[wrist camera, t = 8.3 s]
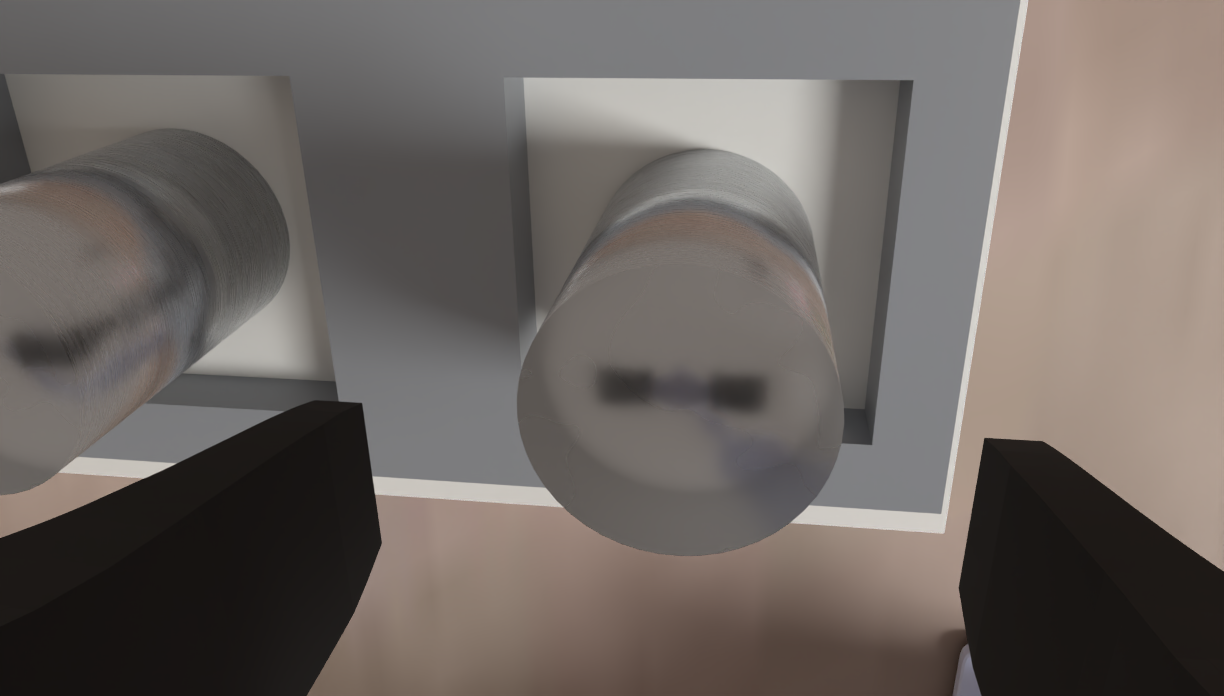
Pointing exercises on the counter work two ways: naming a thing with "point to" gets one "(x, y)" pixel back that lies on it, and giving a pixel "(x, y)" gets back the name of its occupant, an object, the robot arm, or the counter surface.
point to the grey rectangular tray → (542, 200)
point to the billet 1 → (122, 285)
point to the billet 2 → (687, 363)
